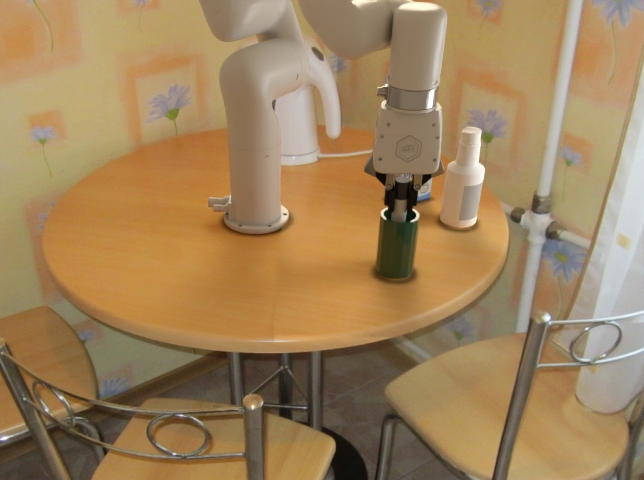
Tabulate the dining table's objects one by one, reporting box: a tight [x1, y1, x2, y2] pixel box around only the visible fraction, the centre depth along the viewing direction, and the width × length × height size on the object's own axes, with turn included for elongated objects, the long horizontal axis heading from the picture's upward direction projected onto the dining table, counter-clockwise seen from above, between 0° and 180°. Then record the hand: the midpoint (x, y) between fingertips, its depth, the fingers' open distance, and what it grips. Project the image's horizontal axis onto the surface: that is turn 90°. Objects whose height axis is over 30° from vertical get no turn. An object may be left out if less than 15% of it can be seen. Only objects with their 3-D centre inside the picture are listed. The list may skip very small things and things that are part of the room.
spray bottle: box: [439, 126, 486, 228], centre depth 141 cm, size 7×7×18 cm
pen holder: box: [375, 206, 421, 280], centre depth 128 cm, size 6×6×11 cm
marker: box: [391, 177, 410, 222], centre depth 126 cm, size 2×2×16 cm
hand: (399, 208), depth 124 cm, fingers closed on marker, 2 cm apart
